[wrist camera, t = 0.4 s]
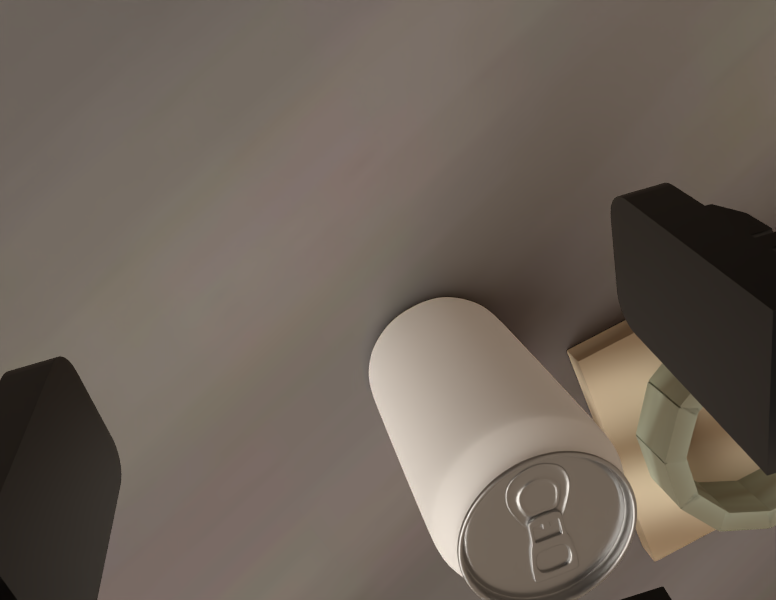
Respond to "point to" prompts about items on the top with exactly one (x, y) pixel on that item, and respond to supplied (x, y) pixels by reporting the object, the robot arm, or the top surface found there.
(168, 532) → the top surface
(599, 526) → the can
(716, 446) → the can holder
